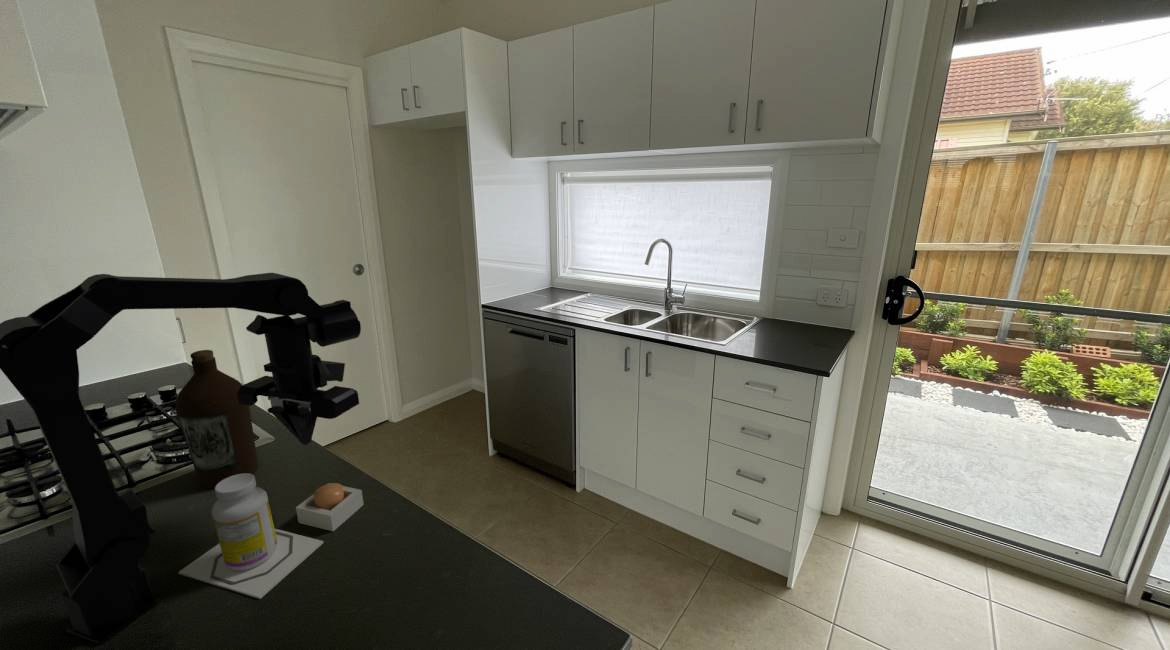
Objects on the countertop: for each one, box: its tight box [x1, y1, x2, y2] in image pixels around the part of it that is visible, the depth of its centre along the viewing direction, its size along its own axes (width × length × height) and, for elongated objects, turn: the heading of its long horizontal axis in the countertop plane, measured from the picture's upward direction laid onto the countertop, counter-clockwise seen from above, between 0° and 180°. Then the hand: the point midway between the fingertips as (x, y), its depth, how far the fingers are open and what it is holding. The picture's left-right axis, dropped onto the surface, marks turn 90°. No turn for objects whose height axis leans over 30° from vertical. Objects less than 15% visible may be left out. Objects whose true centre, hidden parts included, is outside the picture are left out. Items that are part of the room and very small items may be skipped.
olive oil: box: [174, 349, 259, 489], centre depth 88 cm, size 11×11×25 cm
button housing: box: [295, 482, 364, 532], centre depth 81 cm, size 7×7×3 cm
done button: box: [312, 482, 345, 511], centre depth 80 cm, size 4×4×2 cm
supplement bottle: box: [211, 473, 277, 570], centre depth 69 cm, size 7×7×13 cm
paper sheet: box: [177, 528, 324, 600], centre depth 71 cm, size 11×15×1 cm
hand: (306, 443), depth 78 cm, fingers closed
